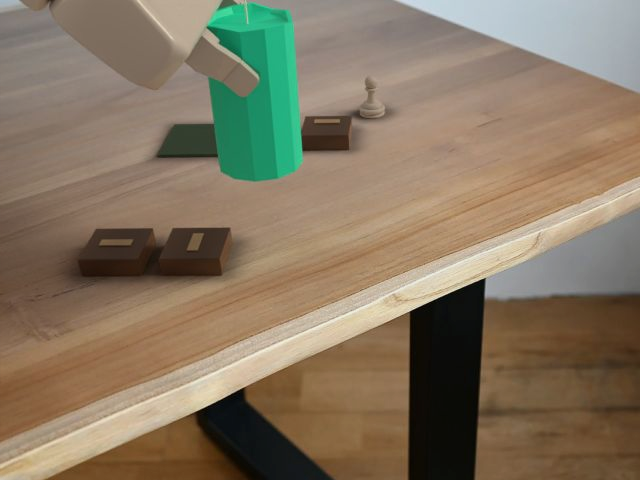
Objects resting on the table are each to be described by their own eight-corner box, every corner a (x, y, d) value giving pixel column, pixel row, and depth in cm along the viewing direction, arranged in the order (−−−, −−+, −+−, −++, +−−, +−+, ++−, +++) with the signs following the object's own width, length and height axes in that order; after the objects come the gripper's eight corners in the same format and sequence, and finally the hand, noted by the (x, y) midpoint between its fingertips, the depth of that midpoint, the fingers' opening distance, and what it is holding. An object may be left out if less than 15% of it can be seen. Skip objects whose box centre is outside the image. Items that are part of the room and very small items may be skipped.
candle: (269, 189, 61) (252, 13, 55) (200, 169, 64) (176, -2, 57) (319, 154, 66) (309, -13, 59) (253, 137, 68) (236, -25, 62)
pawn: (382, 107, 93) (381, 69, 90) (387, 117, 90) (386, 79, 88) (357, 110, 92) (355, 72, 90) (361, 120, 90) (359, 82, 88)
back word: (237, 151, 85) (235, 135, 84) (244, 130, 89) (243, 115, 88) (349, 150, 84) (348, 134, 84) (352, 129, 88) (351, 114, 87)
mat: (158, 157, 84) (157, 154, 84) (174, 126, 90) (174, 124, 90) (231, 156, 84) (230, 153, 84) (243, 126, 90) (243, 123, 89)
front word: (81, 276, 67) (76, 258, 67) (99, 244, 71) (95, 227, 70) (222, 275, 67) (219, 257, 66) (232, 243, 71) (230, 226, 70)
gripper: (107, -84, 66) (254, 47, 71) (-4, 2, 48) (201, 167, 54) (159, -151, 63) (308, -10, 68) (61, -86, 46) (270, 96, 51)
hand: (261, 69), depth 61 cm, fingers closed on candle, 5 cm apart
